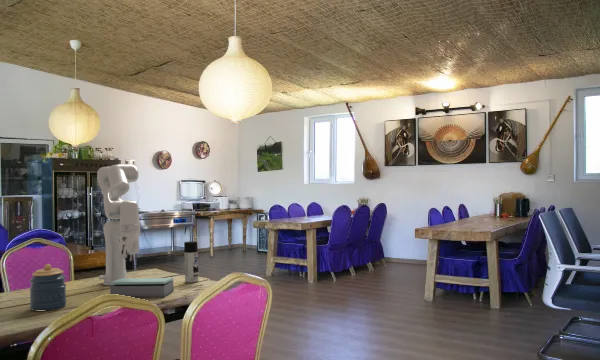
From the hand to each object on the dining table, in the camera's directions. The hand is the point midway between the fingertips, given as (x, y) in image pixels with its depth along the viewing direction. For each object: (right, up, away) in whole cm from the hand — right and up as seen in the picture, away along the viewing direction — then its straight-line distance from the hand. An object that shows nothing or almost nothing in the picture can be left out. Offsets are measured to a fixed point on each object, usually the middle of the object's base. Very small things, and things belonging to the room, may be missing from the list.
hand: (129, 269), depth 209 cm
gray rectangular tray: (+6, -11, 0) cm, 13 cm away
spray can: (+22, -11, +27) cm, 36 cm away
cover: (+6, -6, 0) cm, 8 cm away
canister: (-25, -12, -21) cm, 35 cm away
